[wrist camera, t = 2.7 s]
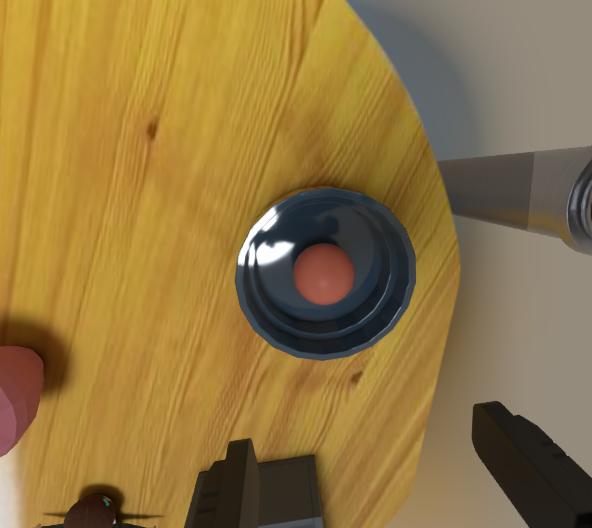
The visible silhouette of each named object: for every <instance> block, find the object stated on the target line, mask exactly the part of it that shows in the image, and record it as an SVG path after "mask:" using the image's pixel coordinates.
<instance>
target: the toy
mask: <svg viewBox="0 0 592 528" xmlns="http://www.w3.org/2000/svg"><path fill="white" fill-rule="evenodd" d="M115 517H116V508H115V504H114V502H113V501H112V499H110V498H108V497H105V496H102V495H90V496H87V497H85V498H83V499H82V500H79V501H78V502H77V503H75V504H74V505H73V506H72V507H71V508H70V510H69V511H68V513H67V515H66V517H65V520H64V524H58V525H51V526H40V525H41V524H38V525H37V527H33V528H145V527H141V526H137V525H132V524H128V523H116V520H115ZM153 528H156V526H154V527H153Z"/></svg>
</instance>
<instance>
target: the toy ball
mask: <svg viewBox="0 0 592 528" xmlns="http://www.w3.org/2000/svg"><path fill="white" fill-rule="evenodd" d="M354 279H355V270H354V265H353V263H352V260H351V259H350V257H349V256H348V254H347V253H346V252H345V251H344V250H342V249H341V248H339V247H337V246H335V245H332V244H326V243H321V244H315V245H312V246H310V247H308V248H307V249H305V250H304V251H303V252H302V253H301V254H300V255H299V257H298V258H297V260H296V262H295V264H294V268H293V280H294V284H295V286H296V288H297V290H298V292H299V293H300V294H301V295H302V296H303V297H304V298H305V299H306V300H308V301H310V302H312V303H314V304H318V305H329V304H333V303H336V302H338V301H340V300H342V299H343V298H344V297H345V296H346V295H347V294H348V293H349V292H350V290H351V288H352V286H353V283H354Z"/></svg>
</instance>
